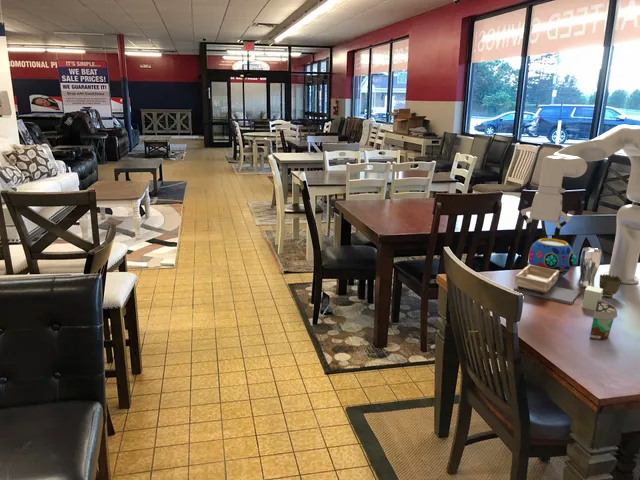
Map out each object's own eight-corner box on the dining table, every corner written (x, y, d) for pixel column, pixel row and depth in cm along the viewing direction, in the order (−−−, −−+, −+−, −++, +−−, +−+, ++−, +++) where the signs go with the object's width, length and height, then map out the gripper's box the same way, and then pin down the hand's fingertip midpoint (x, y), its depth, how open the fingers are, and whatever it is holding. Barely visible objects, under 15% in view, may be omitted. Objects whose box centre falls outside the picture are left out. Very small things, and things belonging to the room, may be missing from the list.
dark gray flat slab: (523, 281, 208) (523, 279, 208) (579, 294, 196) (579, 291, 196) (513, 290, 198) (513, 288, 198) (571, 304, 186) (571, 302, 186)
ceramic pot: (540, 283, 206) (546, 248, 202) (517, 269, 223) (522, 236, 218) (580, 282, 209) (586, 247, 204) (554, 268, 225) (559, 235, 221)
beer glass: (594, 284, 207) (601, 249, 203) (595, 289, 201) (602, 253, 197) (576, 281, 210) (582, 246, 206) (576, 286, 204) (582, 251, 200)
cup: (621, 301, 190) (625, 281, 188) (599, 299, 191) (603, 279, 189) (614, 294, 197) (618, 274, 195) (593, 292, 198) (597, 273, 196)
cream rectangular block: (584, 303, 188) (587, 285, 186) (599, 306, 185) (603, 288, 183) (581, 307, 184) (585, 289, 182) (597, 311, 181) (600, 292, 179)
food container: (611, 346, 155) (617, 316, 153) (588, 341, 158) (594, 311, 156) (613, 331, 165) (619, 303, 163) (592, 326, 169) (597, 298, 166)
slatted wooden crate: (527, 277, 209) (529, 264, 207) (557, 284, 202) (559, 270, 201) (513, 289, 195) (515, 275, 194) (545, 297, 189) (547, 282, 187)
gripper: (576, 192, 184) (568, 237, 189) (527, 186, 193) (520, 229, 198) (573, 195, 178) (564, 241, 183) (522, 188, 187) (515, 233, 192)
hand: (541, 235), depth 190 cm, fingers open, 9 cm apart
